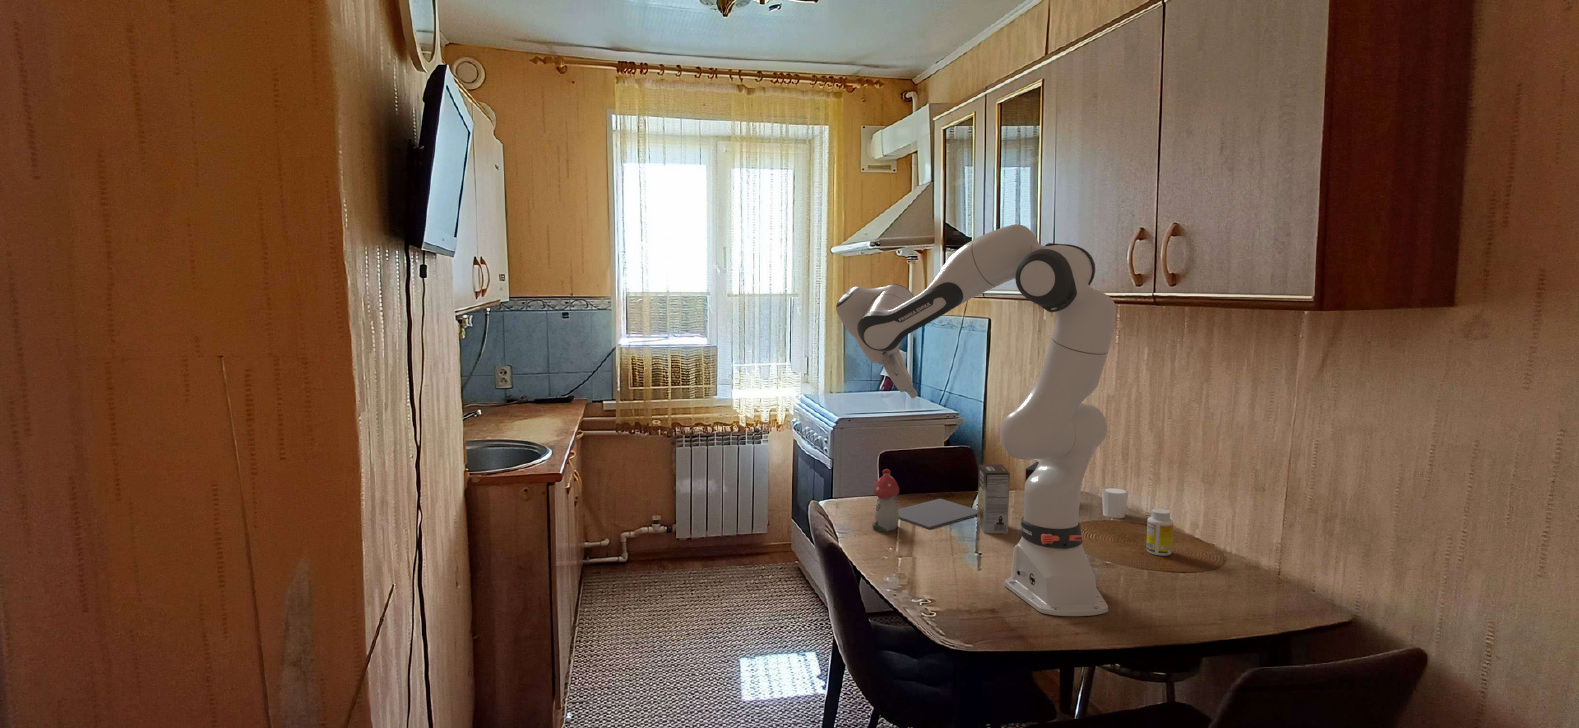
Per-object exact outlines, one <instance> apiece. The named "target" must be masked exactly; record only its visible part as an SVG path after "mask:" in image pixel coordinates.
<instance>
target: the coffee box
mask: <svg viewBox="0 0 1579 728" xmlns="http://www.w3.org/2000/svg"><path fill="white" fill-rule="evenodd" d="M1010 477H1011V473H1010V472H1009V471H1008V469H1007V468H1006V467H1005V466H1004V465H1003V464H999V463H998V464H978V478H977V480H978V481H977V483H978V484H977V485H978V486H977V510H978V511H977V516H976V517H977V520H976V521H977V524H978V526H979V527H980V529H981V528H982V529H981V530H982V532H983V533H984V534H1008V533H1009V532H1008V531H1009V505H1010V504H1009V502H1010V482H1011V481H1010Z"/></svg>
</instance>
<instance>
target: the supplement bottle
mask: <svg viewBox="0 0 1579 728" xmlns="http://www.w3.org/2000/svg"><path fill="white" fill-rule="evenodd" d="M1146 524H1147V527H1146V547H1145V548H1146V551H1147V552H1148V553H1149V554H1152V555H1153V556H1162V557H1163V556H1164V557H1165V556H1166V557H1167V556H1169V555H1171V554H1172V553H1173V539H1174V538H1173V537H1174V520H1173V519H1171V512H1170V511H1169V510H1167V509H1164V508H1153V509H1151V516H1149V517H1148V518H1147V522H1146Z"/></svg>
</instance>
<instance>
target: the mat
mask: <svg viewBox="0 0 1579 728" xmlns="http://www.w3.org/2000/svg"><path fill="white" fill-rule="evenodd" d="M897 509H898V514H899V520H901V521H904V522H908V523H909V524H912V525H916V526H919V527H921V528H925V529H927V530H931V529H930V528H932V529H935V528H938V526H939V527H942V526H945V525H944V524H946V525H949V524H952V522H953V523H956V522H959V521H958V520H960V521H962V520H961V519H963V520H966V518H967V519H969V517H970V518H973V517H972V516H974V517H977V516H976V515H977V511H978V508H977V509H976V508H973V507H969V506H966V505H962V504H960V503H957V502H953V501H950V500H946V499H943V498H937V499H934V500H933V499H932V500H929V501H925V502H921V503H917V504H914V505H908V506H906V507H901V508H897ZM941 525H942V526H941Z"/></svg>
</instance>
